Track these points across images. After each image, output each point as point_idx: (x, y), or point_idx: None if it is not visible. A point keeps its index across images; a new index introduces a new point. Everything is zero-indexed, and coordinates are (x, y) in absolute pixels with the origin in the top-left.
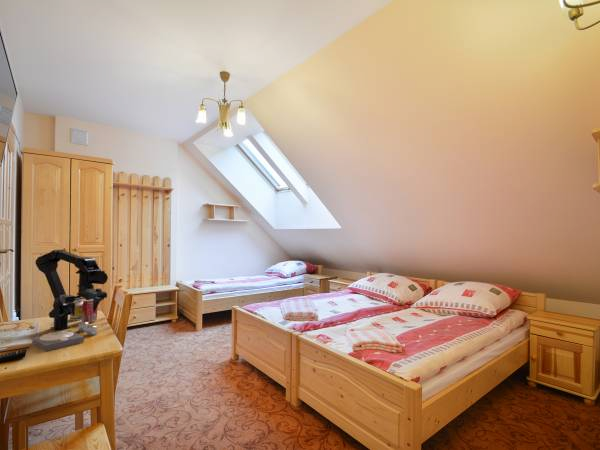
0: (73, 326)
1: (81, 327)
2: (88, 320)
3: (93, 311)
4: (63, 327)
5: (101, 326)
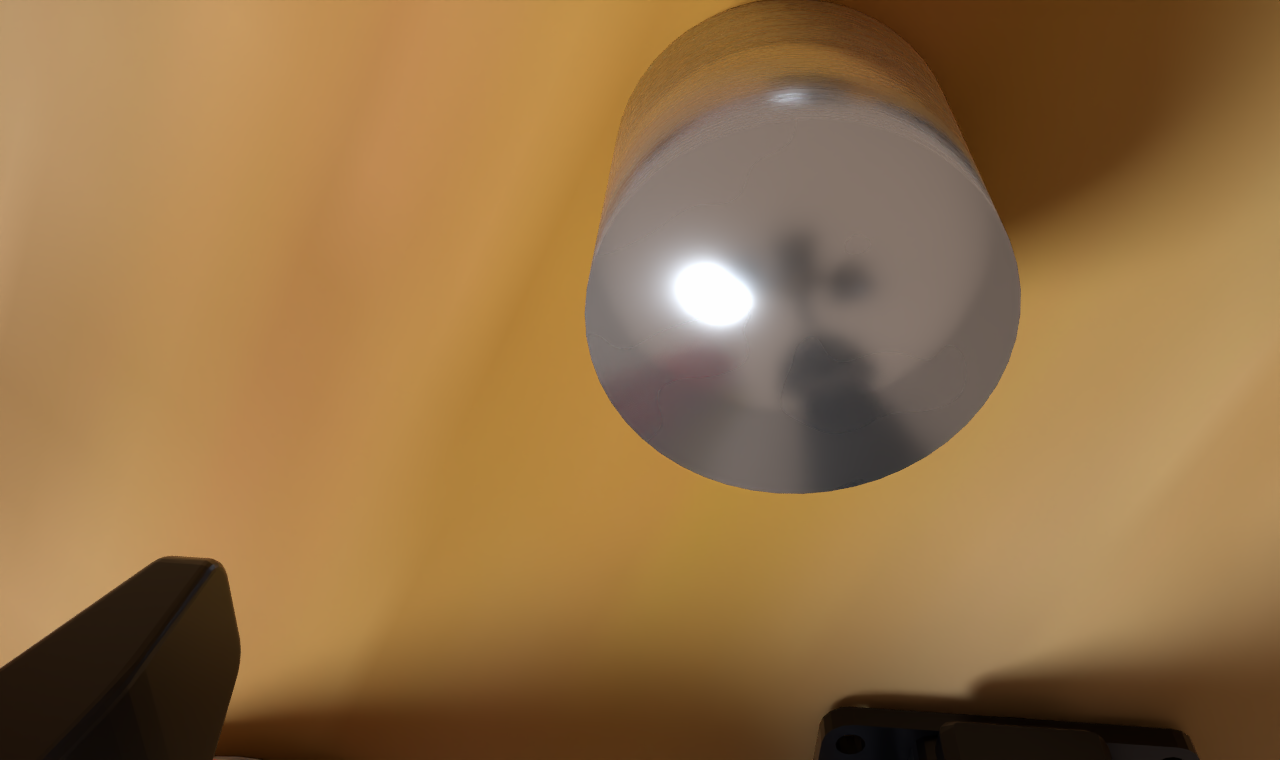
0: (704, 754)
1: (952, 127)
2: None
3: (216, 664)
4: (1032, 742)
5: (124, 193)
